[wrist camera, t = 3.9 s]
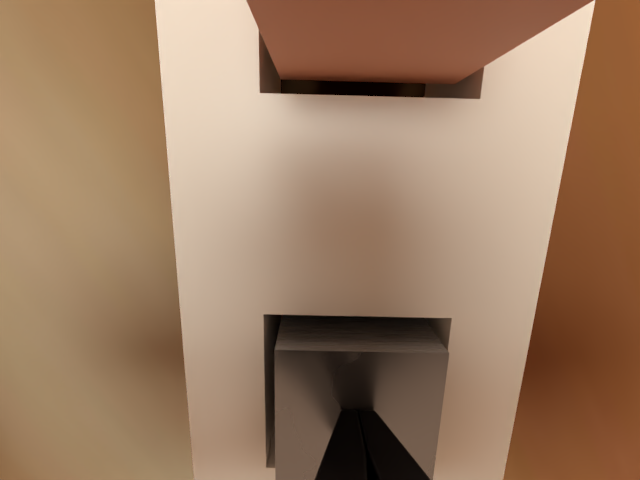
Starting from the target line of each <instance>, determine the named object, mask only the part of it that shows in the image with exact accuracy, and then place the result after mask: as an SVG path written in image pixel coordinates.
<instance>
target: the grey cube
mask: <svg viewBox="0 0 640 480" xmlns="http://www.w3.org/2000/svg"><path fill="white" fill-rule="evenodd" d="M448 360H449V352H448V351H447V349H446V348H445V346H444V345H443V344H442V342H441V341H440V339H439V338H438V336H437V335H436V334H435V332H434V331H433V329H432V328H431V326H430V325H429V324H428V322H427V321H426V319H425V318H421V317H372V316H324V315H283V316H282V320H281V324H280V328H279V332H278V336H277V341H276V345H275V349H274V379H275V480H314V479H315V477H316V474H317V471H318V469H319V466H320V463H321V461H322V458H323V455H324V453H325V450H326V448H327V445H328V442H329V440H330V437H331V434H332V432H333V429H334V426H335V424H336V421H337V418H338V416H339V413H340V411H341V410H356V411H357V412H358V411H359V410H374V411H376V412H377V414H378V415H379V416H380V417H381V418H382V420H383V421H384V422H385V423H386V425H387V426H388V427H389V428H390V430H391V431H392V432H393V433H394V435H395V436H396V437H397V438H398V440H399V441H400V442H401V443H402V444H403V446H404V447H405V448H406V449H407V451H408V452H409V453H410V454H411V456H412V457H413V458H414V459H415V461H416V462H417V463H418V464H419V466H420V467H421V468H422V469H423V471H424V472H425V473H426V474H427V475H428V477H429V478H430V479H431V480H433V475H434V467H435V459H436V452H437V444H438V436H439V429H440V421H441V413H442V406H443V398H444V390H445V383H446V375H447V367H448Z"/></svg>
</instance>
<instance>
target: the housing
mask: <svg viewBox="0 0 640 480" xmlns="http://www.w3.org/2000/svg"><path fill="white" fill-rule="evenodd" d="M594 4H595V0H594V1H592V2H590V3H589V4H587V5H585V6H584V7H582V8H580V9H579V10H577V11H575V12H574V13H572V14H570V15H569V16H567V17H565V18H564V19H562V20H560V21H559V22H557V23H555V24H554V25H552V26H550V27H549V28H547V29H545V30H544V31H542V32H541V33H539V34H537V35H536V36H534V37H532V38H531V39H529V40H527V41H526V42H524V43H522V44H521V45H519V46H517V47H516V48H514V49H512V50H511V51H509V52H507V53H506V54H504V55H502V56H501V57H499V58H497V59H496V60H494V61H492V62H491V63H489V64H487V65H486V66H484V67H482V68H481V69H479V70H477V71H476V72H474V73H472V74H471V75H469V76H467V77H466V78H464V79H462V80H461V81H459V82H457V83H456V84H428V83H426V85H425V96H424V98H421V97H384V96H348V95H311V94H281V79H280V77H279V74H278V72H277V70H276V67H275V65H274V63H273V60H272V58H271V56H270V54H269V51H268V49H267V47H266V44H265V42H264V40H263V38H262V35H261V33H260V31H259V28H258V26H257V24H256V22H255V19H254V17H253V15H252V12H251V10H250V8H249V6H248V3H247V1H246V0H155V8H156V20H157V33H158V45H159V57H160V69H161V82H162V94H163V106H164V119H165V131H166V143H167V155H168V168H169V180H170V192H171V205H172V217H173V229H174V242H175V254H176V266H177V278H178V291H179V303H180V315H181V328H182V340H183V352H184V364H185V377H186V389H187V401H188V414H189V426H190V438H191V450H192V463H193V475H194V480H275V379H274V349H275V345H276V341H277V336H278V332H279V328H280V324H281V320H282V315H324V316H372V317H421V318H425V319H426V321H427V322H428V324H429V325H430V326H431V328H432V329H433V331H434V332H435V334H436V335H437V336H438V338H439V339H440V341H441V342H442V344H443V345H444V346H445V348H446V349H447V351H448V352H449V360H448V367H447V375H446V383H445V390H444V398H443V406H442V413H441V421H440V429H439V436H438V444H437V452H436V459H435V467H434V475H433V480H503V477H504V472H505V466H506V461H507V456H508V451H509V446H510V440H511V435H512V430H513V425H514V420H515V414H516V409H517V404H518V399H519V394H520V388H521V383H522V378H523V373H524V368H525V362H526V357H527V352H528V347H529V342H530V337H531V331H532V326H533V321H534V316H535V311H536V305H537V300H538V295H539V290H540V285H541V279H542V274H543V269H544V264H545V259H546V253H547V248H548V243H549V238H550V233H551V227H552V222H553V217H554V212H555V207H556V202H557V196H558V191H559V186H560V181H561V176H562V170H563V165H564V160H565V155H566V150H567V144H568V139H569V134H570V129H571V124H572V118H573V113H574V108H575V103H576V98H577V92H578V87H579V82H580V77H581V72H582V67H583V61H584V56H585V51H586V46H587V41H588V35H589V30H590V25H591V20H592V15H593V9H594Z"/></svg>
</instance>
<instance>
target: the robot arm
mask: <svg viewBox="0 0 640 480" xmlns="http://www.w3.org/2000/svg"><path fill="white" fill-rule="evenodd" d="M314 480H431V479H430V478H429V477H428V475H427V474H426V473H425V472H424V471H423V469H422V468H421V467H420V466H419V464H418V463H417V462H416V461H415V459H414V458H413V457H412V456H411V454H410V453H409V452H408V451H407V449H406V448H405V447H404V446H403V444H402V443H401V442H400V441H399V440H398V438H397V437H396V436H395V435H394V433H393V432H392V431H391V430H390V428H389V427H388V426H387V425H386V423H385V422H384V421H383V420H382V418H381V417H380V416H379V415H378V414H377V412H376V411H374V410H359V411H358V412H357V411H356V410H341V411H340V413H339V416H338V418H337V421H336V424H335V426H334V429H333V432H332V434H331V437H330V440H329V442H328V445H327V448H326V450H325V453H324V455H323V458H322V461H321V463H320V466H319V469H318V471H317V474H316V477H315V479H314Z"/></svg>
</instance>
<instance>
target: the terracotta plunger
mask: <svg viewBox="0 0 640 480" xmlns="http://www.w3.org/2000/svg"><path fill="white" fill-rule="evenodd" d="M246 1H247V3H248V6H249V8H250V10H251V12H252V15H253V17H254V19H255V22H256V24H257V26H258V28H259V31H260V33H261V35H262V38H263V40H264V42H265V44H266V47H267V49H268V51H269V54H270V56H271V58H272V60H273V63H274V65H275V67H276V70H277V72H278V74H279V77H280V79H284V80H320V81H356V82H392V83H428V84H456V83H457V82H459V81H461V80H462V79H464V78H466V77H467V76H469V75H471V74H472V73H474V72H476V71H477V70H479V69H481V68H482V67H484V66H486V65H487V64H489V63H491V62H492V61H494V60H496V59H497V58H499V57H501V56H502V55H504V54H506V53H507V52H509V51H511V50H512V49H514V48H516V47H517V46H519V45H521V44H522V43H524V42H526V41H527V40H529V39H531V38H532V37H534V36H536V35H537V34H539V33H541V32H542V31H544V30H545V29H547V28H549V27H550V26H552V25H554V24H555V23H557V22H559V21H560V20H562V19H564V18H565V17H567V16H569V15H570V14H572V13H574V12H575V11H577V10H579V9H580V8H582V7H584V6H585V5H587V4H589V3H590V2H592V1H594V0H246Z"/></svg>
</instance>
